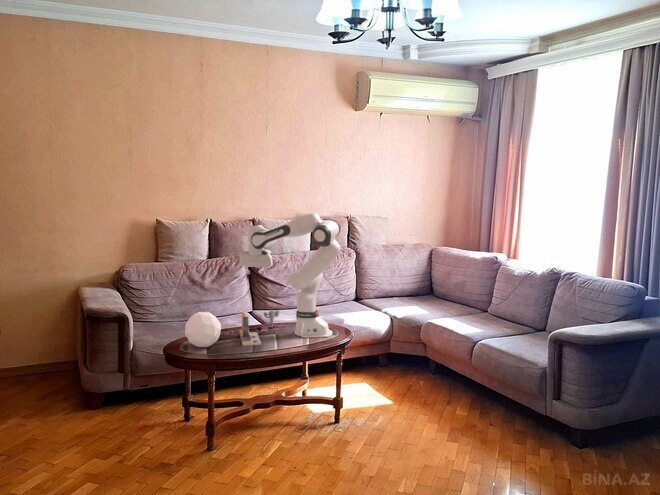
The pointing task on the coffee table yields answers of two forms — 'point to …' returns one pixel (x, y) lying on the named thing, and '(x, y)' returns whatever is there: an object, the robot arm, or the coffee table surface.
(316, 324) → the robot arm
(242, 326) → the post
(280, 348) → the coffee table surface
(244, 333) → the dividers beam
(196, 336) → the geometric polyhedron
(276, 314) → the mechanical component
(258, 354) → the coffee table surface
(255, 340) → the bolt hole strip
